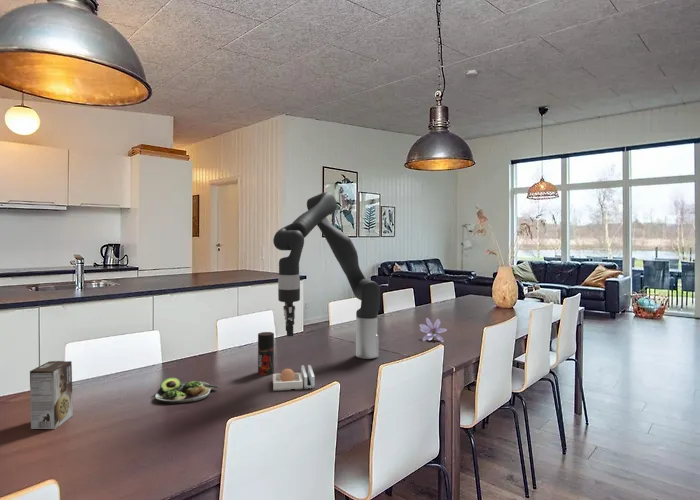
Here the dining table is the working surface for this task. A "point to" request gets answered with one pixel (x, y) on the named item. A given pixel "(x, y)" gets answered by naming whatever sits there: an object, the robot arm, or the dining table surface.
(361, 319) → the robot arm
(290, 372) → the ball
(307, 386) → the grey grooved channel
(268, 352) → the deodorant
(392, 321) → the dining table surface
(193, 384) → the salad plate
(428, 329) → the water lily
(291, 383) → the dish
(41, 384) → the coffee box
